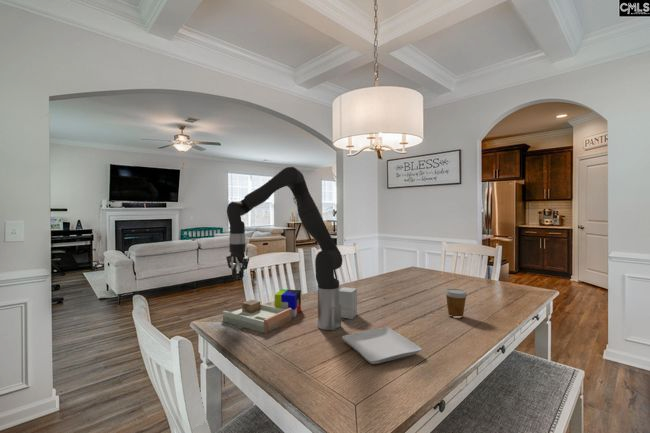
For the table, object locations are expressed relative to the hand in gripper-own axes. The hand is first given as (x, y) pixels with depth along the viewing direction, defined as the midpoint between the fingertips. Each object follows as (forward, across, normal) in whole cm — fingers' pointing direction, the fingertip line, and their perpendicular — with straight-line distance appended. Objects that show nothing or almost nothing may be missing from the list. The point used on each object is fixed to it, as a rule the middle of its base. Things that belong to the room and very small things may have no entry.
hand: (237, 277), depth 149 cm
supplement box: (+18, -48, -24) cm, 56 cm away
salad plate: (+18, -74, +1) cm, 76 cm away
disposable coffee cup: (+17, -92, -50) cm, 106 cm away
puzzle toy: (+18, -21, -13) cm, 30 cm away
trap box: (+17, -16, +3) cm, 24 cm away
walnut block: (+15, -9, 0) cm, 17 cm away
